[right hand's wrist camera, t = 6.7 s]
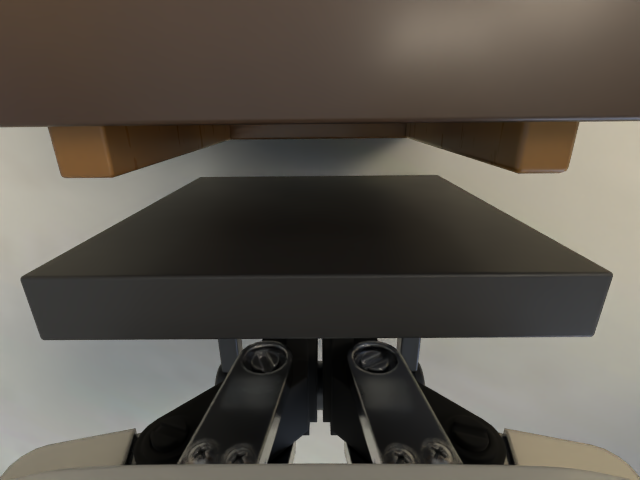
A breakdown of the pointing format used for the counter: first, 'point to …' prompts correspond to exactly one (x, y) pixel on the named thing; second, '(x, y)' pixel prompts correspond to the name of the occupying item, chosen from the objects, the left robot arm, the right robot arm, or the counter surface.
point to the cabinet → (317, 62)
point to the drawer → (316, 248)
